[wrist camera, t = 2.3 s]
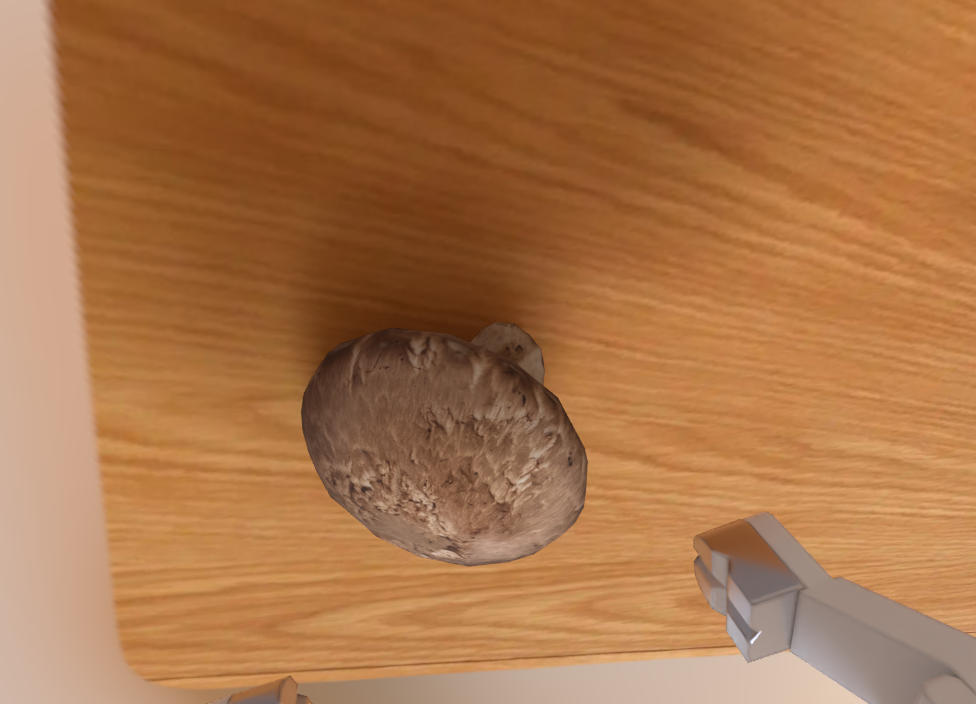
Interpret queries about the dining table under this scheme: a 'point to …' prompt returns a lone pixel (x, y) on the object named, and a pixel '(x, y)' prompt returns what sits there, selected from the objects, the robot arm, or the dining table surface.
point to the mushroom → (446, 443)
